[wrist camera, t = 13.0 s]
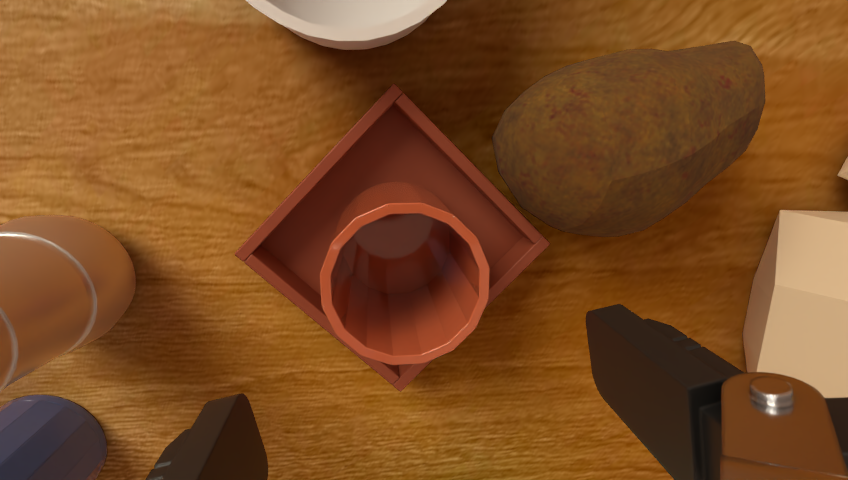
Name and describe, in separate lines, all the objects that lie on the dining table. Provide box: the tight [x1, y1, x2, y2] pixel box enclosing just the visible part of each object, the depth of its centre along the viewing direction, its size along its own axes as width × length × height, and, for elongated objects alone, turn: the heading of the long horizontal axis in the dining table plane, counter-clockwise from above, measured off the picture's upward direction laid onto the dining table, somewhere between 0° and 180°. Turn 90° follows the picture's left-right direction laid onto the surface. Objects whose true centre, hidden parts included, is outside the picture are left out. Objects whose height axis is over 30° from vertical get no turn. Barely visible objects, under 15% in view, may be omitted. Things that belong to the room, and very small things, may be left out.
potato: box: [492, 41, 765, 237], centre depth 22 cm, size 8×12×9 cm
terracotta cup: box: [320, 181, 490, 365], centre depth 22 cm, size 6×6×8 cm
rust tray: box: [235, 84, 550, 391], centre depth 25 cm, size 11×11×2 cm
